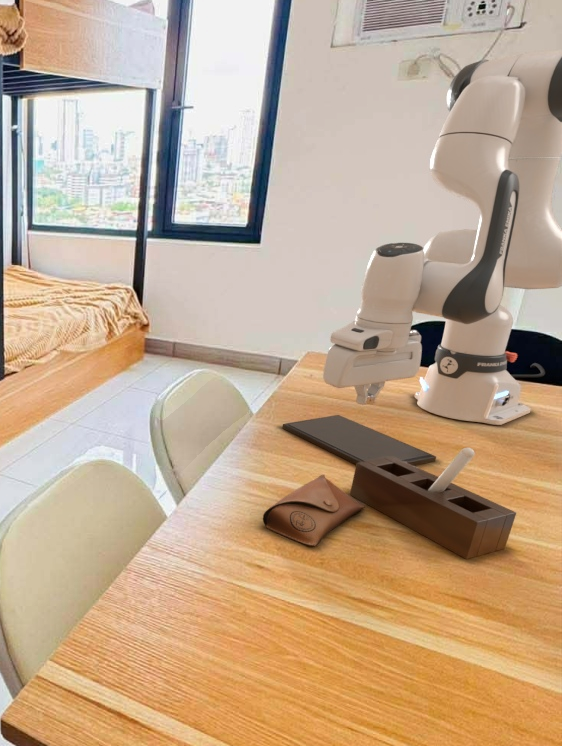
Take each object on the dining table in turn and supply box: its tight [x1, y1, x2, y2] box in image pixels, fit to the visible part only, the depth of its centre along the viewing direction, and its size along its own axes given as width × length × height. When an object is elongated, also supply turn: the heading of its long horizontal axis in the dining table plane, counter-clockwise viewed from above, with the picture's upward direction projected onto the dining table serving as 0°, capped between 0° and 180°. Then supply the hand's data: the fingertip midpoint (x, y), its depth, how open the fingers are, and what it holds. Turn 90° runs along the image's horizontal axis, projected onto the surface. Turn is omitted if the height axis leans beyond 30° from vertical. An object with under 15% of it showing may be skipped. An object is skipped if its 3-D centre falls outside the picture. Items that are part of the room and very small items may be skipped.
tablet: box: [281, 414, 437, 466], centre depth 124 cm, size 15×22×1 cm
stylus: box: [428, 447, 476, 494], centre depth 94 cm, size 2×2×15 cm
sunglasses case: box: [262, 474, 366, 547], centre depth 98 cm, size 18×7×7 cm
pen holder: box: [349, 456, 517, 560], centre depth 97 cm, size 8×19×6 cm, turn 18°
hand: (365, 403), depth 121 cm, fingers closed
